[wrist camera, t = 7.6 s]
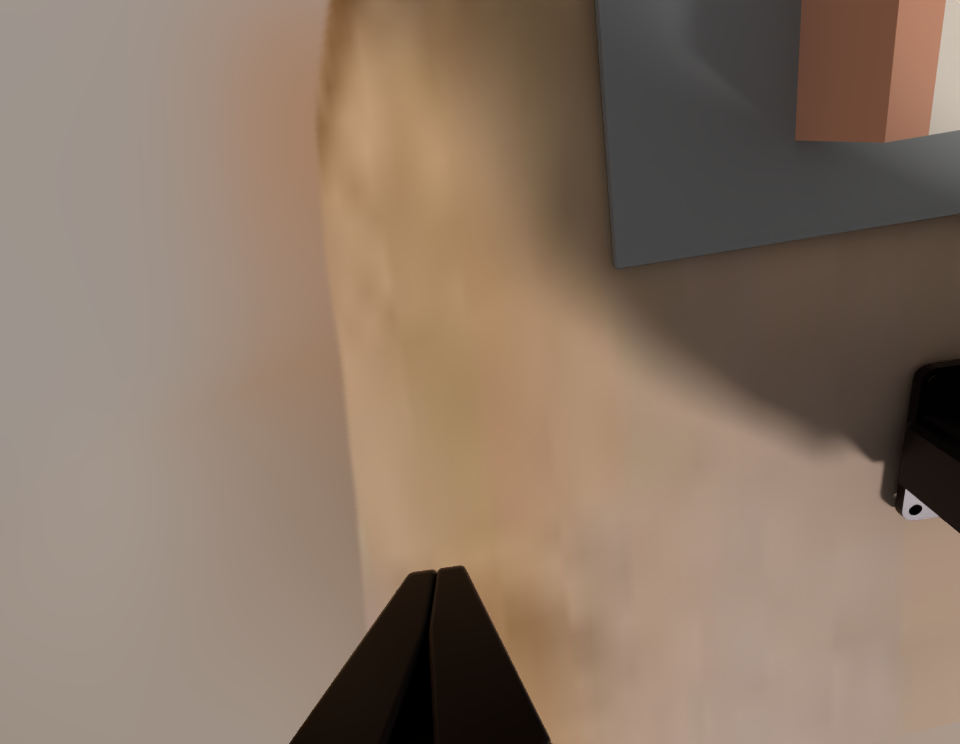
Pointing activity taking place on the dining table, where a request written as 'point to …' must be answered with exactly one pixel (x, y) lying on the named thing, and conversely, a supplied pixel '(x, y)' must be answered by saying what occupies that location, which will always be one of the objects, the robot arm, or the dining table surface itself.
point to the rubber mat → (738, 138)
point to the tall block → (878, 70)
